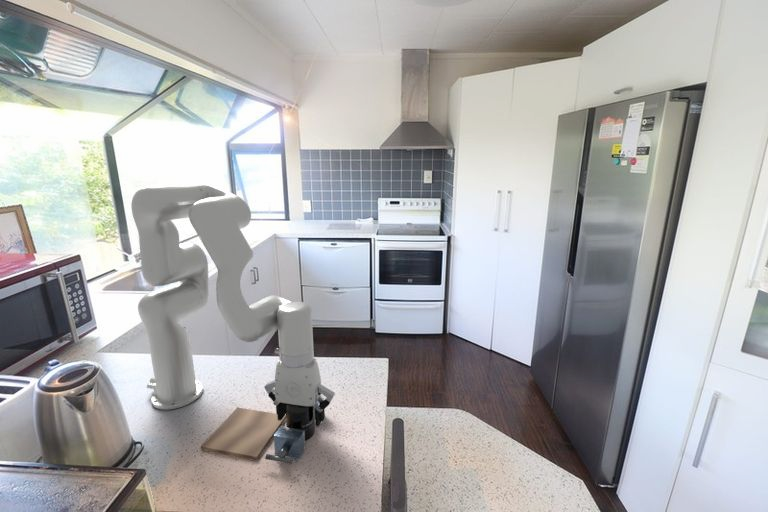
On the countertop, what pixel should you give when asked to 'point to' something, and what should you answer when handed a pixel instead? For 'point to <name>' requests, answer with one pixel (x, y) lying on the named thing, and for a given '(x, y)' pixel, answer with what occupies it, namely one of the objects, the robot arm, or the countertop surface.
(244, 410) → the walnut board
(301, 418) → the supplement bottle
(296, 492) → the countertop surface
